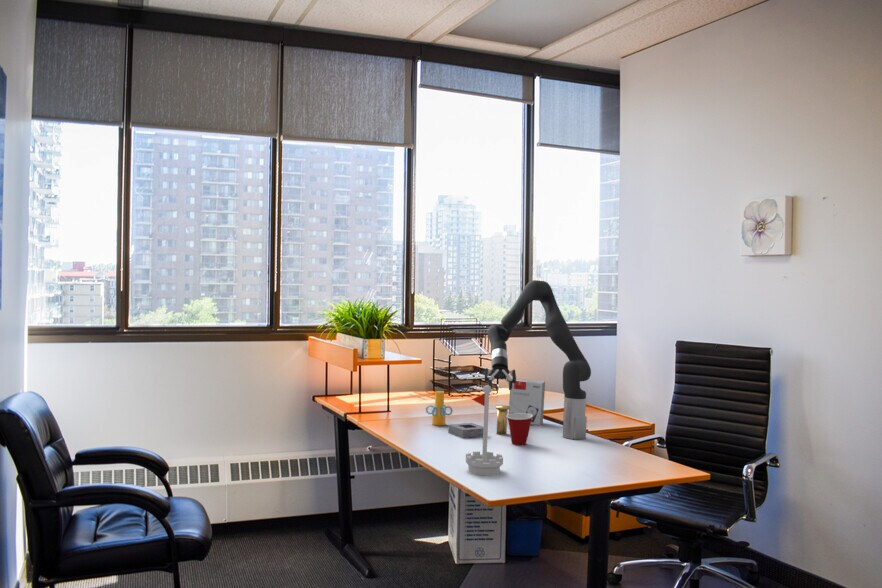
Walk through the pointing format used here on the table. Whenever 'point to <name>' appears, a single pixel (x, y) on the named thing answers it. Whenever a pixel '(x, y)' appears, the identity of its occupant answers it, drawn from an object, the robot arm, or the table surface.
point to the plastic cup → (519, 427)
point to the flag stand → (484, 445)
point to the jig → (466, 430)
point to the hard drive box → (528, 399)
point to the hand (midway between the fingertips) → (500, 388)
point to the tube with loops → (439, 409)
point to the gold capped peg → (502, 419)
